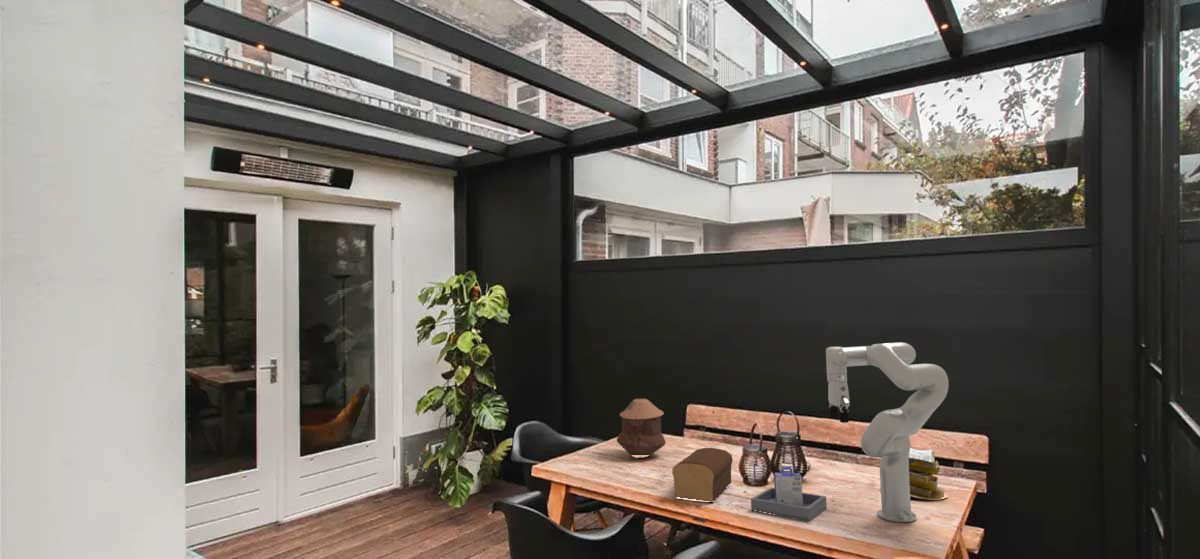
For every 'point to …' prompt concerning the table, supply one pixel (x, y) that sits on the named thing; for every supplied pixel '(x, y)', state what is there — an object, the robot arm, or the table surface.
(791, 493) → the ink cartridge box
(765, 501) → the tray
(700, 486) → the bread
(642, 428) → the pottery vessel
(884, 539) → the table surface
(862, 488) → the table surface
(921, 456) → the stacked food on plate
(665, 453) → the table surface
